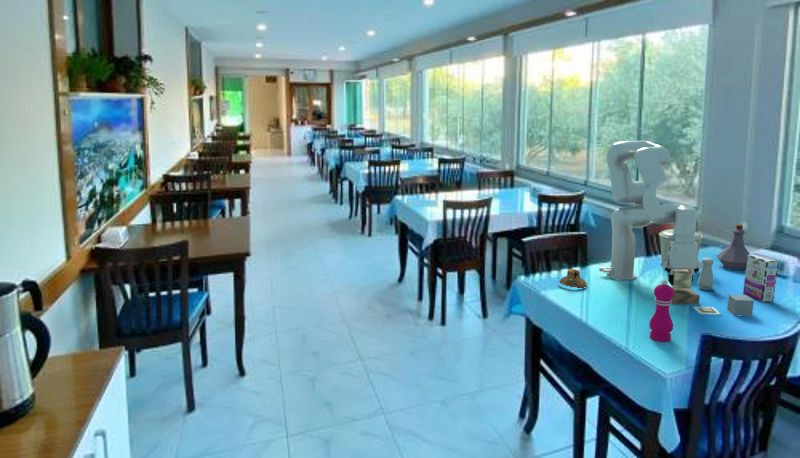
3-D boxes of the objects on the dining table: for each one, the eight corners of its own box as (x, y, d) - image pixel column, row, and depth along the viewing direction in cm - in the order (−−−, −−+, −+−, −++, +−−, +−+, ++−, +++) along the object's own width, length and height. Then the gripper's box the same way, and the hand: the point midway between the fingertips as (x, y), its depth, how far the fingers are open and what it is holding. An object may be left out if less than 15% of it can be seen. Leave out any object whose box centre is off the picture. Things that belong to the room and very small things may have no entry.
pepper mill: (650, 332, 190) (655, 275, 186) (674, 336, 186) (679, 279, 182) (646, 339, 184) (650, 281, 180) (670, 344, 180) (675, 284, 176)
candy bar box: (774, 302, 216) (779, 261, 212) (762, 302, 215) (767, 261, 212) (754, 292, 227) (758, 253, 223) (742, 293, 226) (746, 254, 223)
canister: (707, 274, 251) (712, 228, 247) (666, 275, 252) (670, 229, 247) (687, 263, 269) (691, 220, 264) (649, 264, 269) (653, 221, 265)
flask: (707, 263, 269) (711, 222, 265) (739, 261, 271) (743, 221, 267) (730, 273, 253) (735, 229, 249) (764, 271, 255) (769, 228, 251)
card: (700, 314, 205) (700, 312, 205) (693, 307, 212) (693, 306, 212) (720, 314, 204) (720, 313, 204) (713, 308, 211) (713, 306, 210)
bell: (572, 280, 248) (573, 265, 246) (592, 288, 237) (593, 271, 235) (552, 284, 243) (552, 268, 241) (571, 292, 232) (572, 275, 230)
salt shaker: (714, 291, 230) (718, 260, 227) (699, 290, 231) (702, 259, 228) (710, 286, 235) (713, 256, 232) (695, 286, 236) (698, 256, 234)
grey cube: (733, 315, 203) (735, 299, 202) (727, 309, 209) (728, 294, 208) (751, 316, 202) (753, 300, 201) (744, 310, 208) (746, 295, 207)
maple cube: (674, 288, 217) (675, 273, 216) (669, 283, 223) (670, 268, 221) (691, 288, 216) (692, 273, 215) (685, 283, 222) (686, 269, 220)
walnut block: (672, 305, 216) (672, 295, 215) (661, 296, 226) (662, 287, 225) (698, 305, 215) (699, 295, 214) (687, 296, 225) (687, 287, 224)
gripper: (663, 240, 213) (659, 286, 217) (711, 241, 211) (707, 287, 214) (657, 236, 220) (654, 280, 224) (704, 237, 218) (700, 281, 221)
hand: (680, 283), depth 219 cm, fingers closed on maple cube, 6 cm apart
